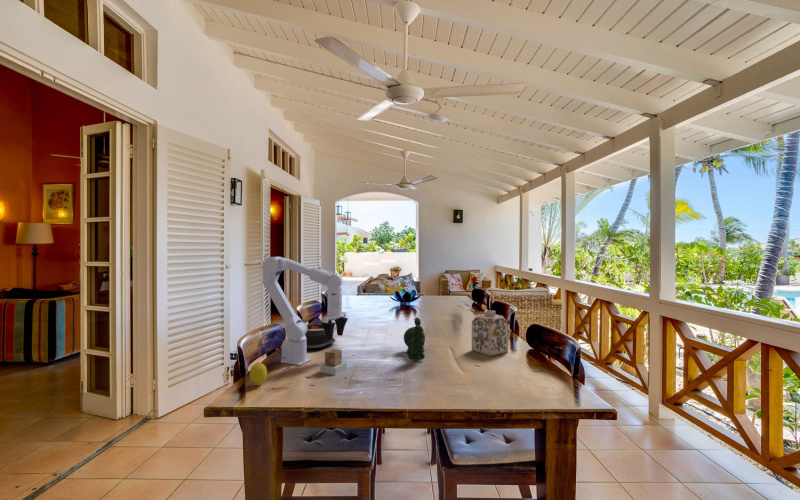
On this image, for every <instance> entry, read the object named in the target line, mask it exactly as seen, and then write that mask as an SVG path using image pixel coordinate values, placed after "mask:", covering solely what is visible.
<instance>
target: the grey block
mask: <svg viewBox="0 0 800 500" xmlns="http://www.w3.org/2000/svg"><path fill="white" fill-rule="evenodd" d="M347 366H348V364H347V362H343V361H342V363H341V364H339V365H338V366H336V367H334V366H326V365H325V363H322V364H320V366H319V369H320V371H319V372H320V373H322V374H327V375H332V376H338V375H339V374H341V373H343V372H345V371H346V370H347V369H348V368H347Z"/></svg>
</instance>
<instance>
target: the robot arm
mask: <svg viewBox="0 0 800 500" xmlns="http://www.w3.org/2000/svg"><path fill="white" fill-rule="evenodd" d="M262 263H263V264H262V265H261V269H262V283H263V286H264V287H265V288H264V289H266V292H267V293H268V295H269V297H270V299H271V301H272V302H273V304H274V305H275V307H276V309H277V311H278V312H279V314H280V316H281V318H282V320H283V322H284V323H283V324H284V326H283V327H284V329H285V330H286V337H287V338H285V339H284V340H283V341H282V344H281V360H280V363H282V364H289V365H295V366H300V365H303V364H305V363H307V362H310V361H311V360H312V358H308V357H307V356H308V355H307V354H308V353H307V351H308V350H307V349H308V348H307V342H306V336H305V334H306V333H307V330H308V327H307V323H306V322H305V321H303V320H302V319H301V318H300V316H298V314H296V312H295V310H294V309H293V306H292V305H291V303H290V302H289V300H288V298H287V296H286V294H285V293H284V291H283V289H282V287H281V285H280V284H279V282H278V280H279V277H280V275H281V273H282V272H283V271H286V270H291V271H293V272H296V273H299V274H303V275H305V276H308V277H309V280H310V281H312V282H314V283H317V284H321V285H323V286H326V287H327V314H326V316H324V317H322V319H321V320H322V321H321V322H320V324H321V325H322V326H323V328H324V330H325V333H326V337H327V340H332V338H334V337H333V336H334V332H333V331H334V329H336V335H337V336H343V334H344V330H345V326H346V323H347V322H348V320H349V319H348V317H347V312H346V311H343V310H342V309H343V292H342V285H343V281H344V280H343V277H342V276H341V275H340V274H338V273H334V272H333V271H331V270H330V271H328V270H325V269H323V267H322V266H318V267H317V266H315V267H309V266H306V265H304V264H302V263H300V262H297V261H294V260H293V259H291V258H286V257H282V256H269V257H267V258H265V259H264V261H263V262H262ZM332 321H334V322H332ZM335 327H336V328H335Z"/></svg>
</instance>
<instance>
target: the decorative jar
mask: <svg viewBox="0 0 800 500" xmlns="http://www.w3.org/2000/svg"><path fill="white" fill-rule="evenodd" d="M471 351H473V352H475V353H476V352H477V353H479V354H482V355H484V356H489V357H491V356H497V355H501V354H505V353H509V322H508V320H507V319H506V318H505V317H504V316H503V315H500V314H496V310H492V309H491V310H485V311H484V313H480V314H477V315H476V316H475V317H474V318H473V319H472V321H471Z"/></svg>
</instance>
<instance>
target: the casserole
mask: <svg viewBox="0 0 800 500" xmlns="http://www.w3.org/2000/svg"><path fill="white" fill-rule="evenodd" d="M306 325H307V324H306ZM307 327H308V330H307V333H306V334H305V336H306V342H307V349H319V348H323V347H325V346H328V345H331V344H334V343H335V342H336V339H335V338H334V337H333V338H332V340H327V337H326V333H325V330H324V328H323V326H322V325H321V323H317V324H308V325H307ZM333 333H334V330H333Z"/></svg>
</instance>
